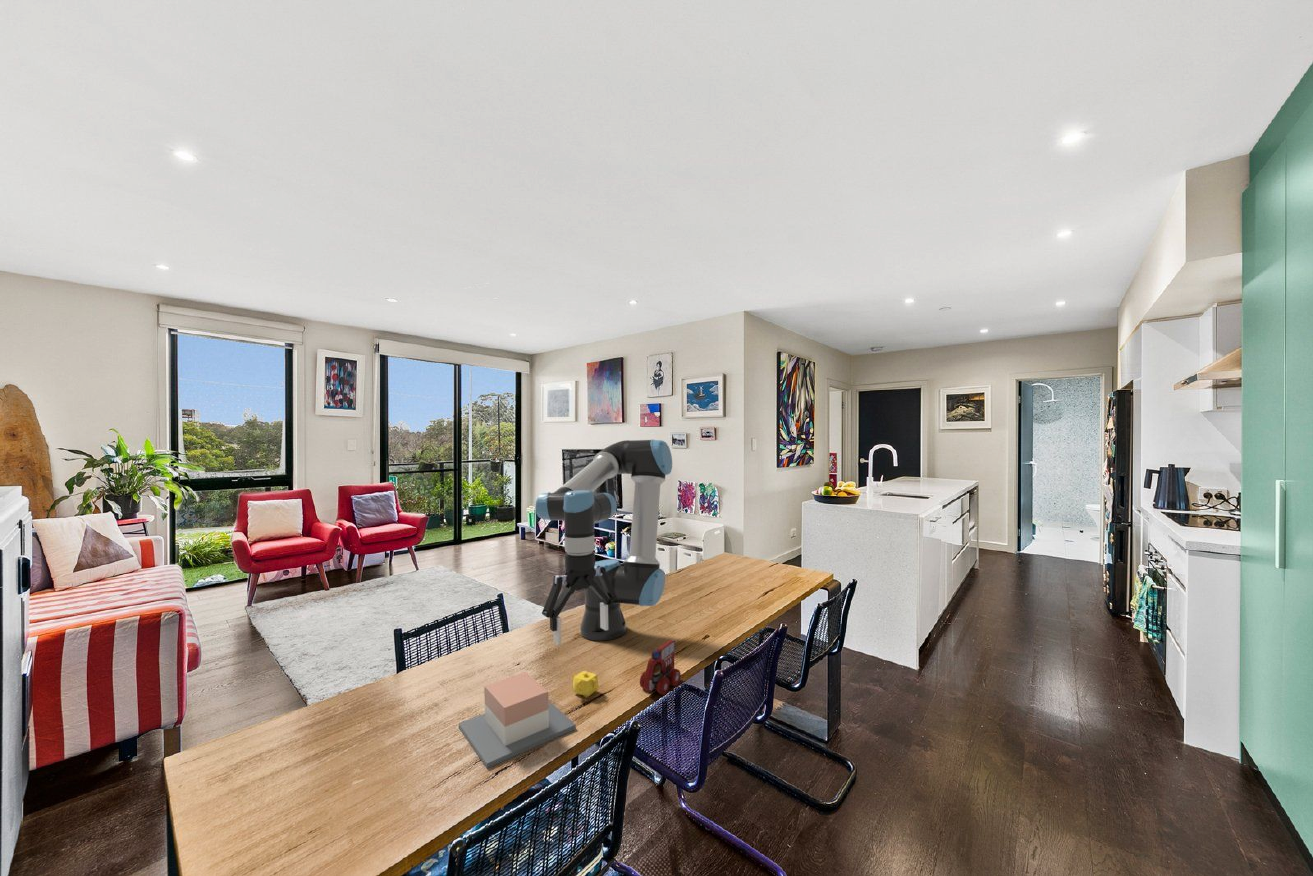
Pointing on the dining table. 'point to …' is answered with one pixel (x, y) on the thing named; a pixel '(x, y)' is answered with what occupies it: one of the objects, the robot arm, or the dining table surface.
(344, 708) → the dining table surface
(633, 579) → the robot arm
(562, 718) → the tower base
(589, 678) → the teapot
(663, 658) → the toy fire truck
